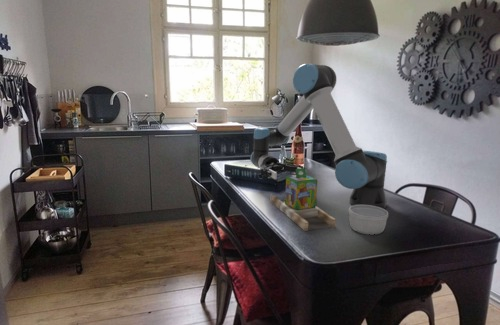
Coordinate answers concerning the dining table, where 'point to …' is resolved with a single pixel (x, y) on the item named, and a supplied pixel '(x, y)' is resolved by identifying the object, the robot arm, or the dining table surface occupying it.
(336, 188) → the dining table surface
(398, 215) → the dining table surface
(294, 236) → the dining table surface
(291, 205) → the chalk box
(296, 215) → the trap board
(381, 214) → the ramekin
